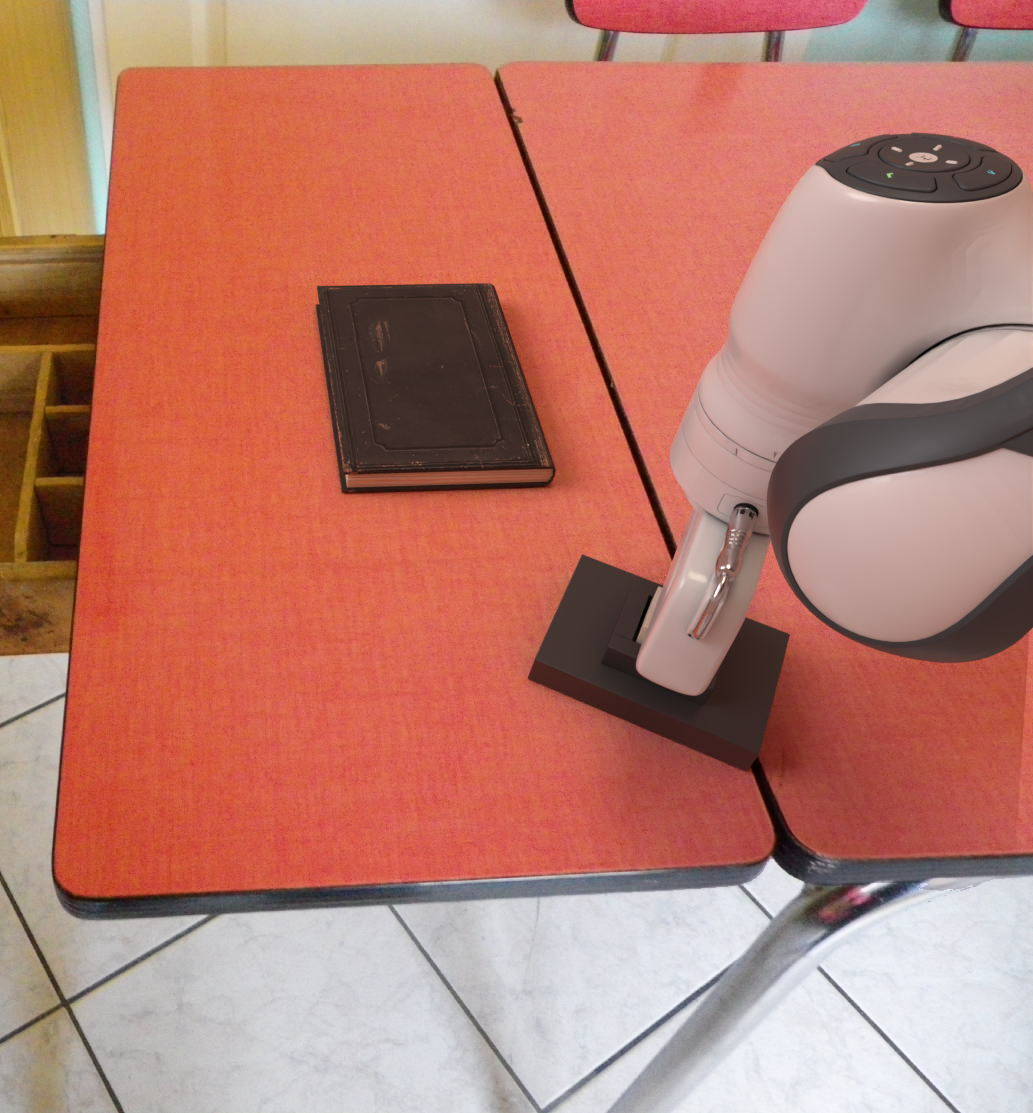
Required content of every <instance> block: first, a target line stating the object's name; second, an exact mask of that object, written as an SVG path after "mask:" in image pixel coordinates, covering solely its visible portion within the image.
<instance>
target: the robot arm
mask: <svg viewBox="0 0 1033 1113" xmlns="http://www.w3.org/2000/svg"><path fill="white" fill-rule="evenodd" d="M778 210H779V211H777V214H776V215H775V217H774V219H773V220H772V222H771V224H770V226H769V228H768V230H767V231H766V233H765V234H764V237H763V239H762V241H761V242H760V244H759V246H758V249H757V250H756V252H755V254H754V256H753V258H752V260H751V263H750V265H749V267H748V268H747V271H746V272H745V274H744V277H743V279H742V282H741V283H740V286H739V287H738V290H737V292H736V294H735V296H734V299H733V301H732V304H731V307H730V311H729V315H728V326H727V328H728V329H727V336H726V339H725V340H724V343H723V345H722V347H721V348H720V349H719V350H718V351H717V352H716V353H715V354H714V355H713V357H711V359H710V360H709V361H708V363H707V364H706V365H705V367H704V369H703V371H702V373H701V375H700V378H699V380H698V382H697V385H696V386H695V389H694V391H693V393H692V396H691V398H690V400H689V403H688V405H687V407H686V409H685V412H684V414H683V416H682V419H681V421H680V424H679V426H678V428H677V430H676V432H675V435H674V437H673V439H672V442H671V445H670V447H669V464H670V468H671V472H672V474H673V476H674V479H675V481H676V483H677V484H678V485H679V487H680V488H681V489H682V491H683V492H684V495H685V498H686V499H687V501H688V503H689V504H690V506H691V508H690V512H689V515H688V517H687V520H686V524H685V526H684V528H683V531H682V533H681V537H680V538H679V541H678V545H677V547H676V550H675V553H674V555H673V558H672V561H671V564H670V566H669V568H668V572H667V573H666V574H667V575H666V577H665V580H664V583H663V584H662V585H663V588H662V591H661V593H660V596H659V599H658V602H657V604H656V607H655V610H654V612H653V615H652V618H651V621H650V623H649V626H648V629H647V631H646V634H645V637H644V640H643V642H642V645H641V648H640V651H639V654H638V657H637V661H636V669H637V671H638V672H639V674H641V675H642V676H644V677H645V678H647V679H649V680H650V681H652V682H655V683H657V684H659V685H661V686H663V687H665V688H668V689H671V690H674V691H676V692H679V693H682V694H686V695H691V696H696V695H700V694H702V693H703V692H704V691H705V690H706V688H707V687H708V685H709V684H710V682H711V680H712V678H713V677H714V675H715V673H716V671H717V670H718V668H719V666H720V665H721V663H722V661H723V659H724V657H725V656H726V654H727V652H728V650H729V648H730V647H731V645H732V643H733V641H734V639H735V637H736V636H737V634H738V632H739V630H740V628H741V626H742V624H743V622H744V620H745V618H746V617H747V615H748V613H749V611H750V608H751V606H752V603H753V601H754V599H755V595H756V592H757V589H758V586H759V582H760V578H761V576H762V572H763V568H764V565H765V562H766V557H767V554H768V551H769V548H770V544H771V546H772V549H773V553H774V554H773V555H774V557H775V560H776V563H777V565H778V567H779V569H780V571H781V574H782V577H783V578H784V580H785V582H786V583H787V585H788V587H789V588H790V589H791V591H792V592H793V594H794V596H795V597H796V598H797V599H798V601H800V603H801V604H802V605H803V606H804V608H806V609H807V610H808V611H809V612H810V613H811V614H812V615H813V616H814V617H815V618H817V619H818V620H819V621H820V622H822V623H823V624H825V625H826V626H827V627H829V628H830V629H831V630H833V631H835V632H836V633H838V634H840V635H841V636H843V637H846V638H847V639H850V640H852V641H854V642H855V643H858V644H860V645H863V646H865V647H867V648H870V649H873V650H875V651H879V652H881V653H885V654H889V655H892V656H897V657H902V658H905V659H910V660H918V661H923V662H930V663H939V664H940V663H941V664H961V663H962V664H963V663H969V662H976V661H981V660H984V659H987V658H990V657H993V656H995V655H998V654H1000V653H1002V652H1004V651H1005V650H1007V649H1009V648H1011V647H1012V646H1014V645H1015V644H1016V643H1018V642H1019V641H1020V640H1022V639H1023V638H1024V637H1025V636H1026V635H1027V634H1028V633H1029V632H1030V631H1031V630H1033V189H1032V185H1031V183H1030V180H1029V177H1028V176H1027V174H1026V172H1025V171H1024V169H1023V168H1022V167H1021V166H1020V165H1019V164H1018V163H1017V162H1015V160H1013V159H1012V158H1010V157H1009V156H1007V155H1006V154H1003V153H1002V152H1000V151H998V150H997V149H995V148H993V147H992V146H989V145H986V144H984V143H982V142H978V141H975V140H972V139H968V138H964V137H959V136H953V135H947V134H939V133H932V132H931V133H929V132H911V133H893V134H891V133H884V134H879V135H874V136H871V137H867V138H864V139H861V140H858V141H855V142H852V143H850V144H847V145H845V146H843V147H840V148H838V149H836V150H835V151H833V152H832V153H829V154H827V155H825V156H824V157H822V158H820V159H818V160H816V162H815V163H813V164H812V165H811V166H810V167H809V168H808V169H807V170H806V171H805V173H804V174H802V176H801V177H800V178H799V180H798V181H797V182H796V183H795V185H794V186H793V188H792V190H791V191H790V193H789V194H788V196H787V197H786V198H785V200H784V202H783V203H782V205H781V207H780V209H778Z"/></svg>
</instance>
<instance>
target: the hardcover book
mask: <svg viewBox="0 0 1033 1113" xmlns="http://www.w3.org/2000/svg"><path fill="white" fill-rule="evenodd" d="M316 290H317V300H318V303H317V304H315V309H316V317H317V324H318V332H319V338H320V346H321V353H322V360H323V361H322V362H323V366H324V373H325V381H326V388H327V396H328V403H329V410H330V417H331V424H332V431H333V438H334V447H335V453H336V459H337V467H338V475H339V482H340V488H341V493H343V494H344V493H345V494H346V493H378V492H411V491H414V492H415V491H442V490H443V491H444V490H478V489H481V490H482V489H509V488H510V489H511V488H543V487H546V486H548V485H550V484H551V483H552V482H553V481H554V478H555V476H556V471H557V469H556V466H555V462H554V459H553V456H552V454H551V450H550V448H549V444H548V441H547V439H546V436H545V432H544V430H543V427H542V424H541V420H540V418H539V414H538V412H537V409H536V405H535V403H534V400H533V397H532V394H531V391H530V387H529V384H528V382H527V378H526V376H525V372H524V370H523V367H522V363H521V361H520V358H519V355H518V352H517V349H516V346H515V342H514V340H513V336H512V334H511V331H510V328H509V325H508V322H507V319H506V316H505V313H504V310H503V308H502V305H501V304H502V303H501V301H500V299H499V295H498V292H497V289H496V287H495V285H494V284H493V283H490V282H478V283H477V282H476V283H475V282H472V283H471V282H470V283H419V284H418V283H416V284H415V283H414V284H412V283H411V284H355V285H354V284H353V285H352V284H351V285H345V284H344V285H317V286H316Z"/></svg>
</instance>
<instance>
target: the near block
mask: <svg viewBox="0 0 1033 1113" xmlns="http://www.w3.org/2000/svg"><path fill="white" fill-rule="evenodd" d="M663 585H664V584H661V583H658V582H656V581H652V580H650V579H648V578H646V577H643V576H640V575H638V574H635V573H632V572H630V571H627V570H624V569H622V568H619V567H616V566H614V565H612V564H609V563H606V562H603V561H601V560H598V559H595V558H593V557H590V556H588V555H585V554H581V556H580V558H579V560H578V562H577V565H576V566H575V569H574V571H573V573H572V575H571V577H570V579H569V582H568V584H567V587H566V589H565V591H564V593H563V596H562V598H561V599H560V602H559V604H558V606H557V609H556V611H555V612H554V616H553V618H552V620H551V622H550V624H549V626H548V629H547V631H546V633H545V636H544V638H543V640H542V641H541V644H540V647H539V649H538V651H537V653H536V655H535V658H534V660H533V662H532V665H531V667H530V668H531V669H530V670H529V674H528V676H527V679H528V680H530V681H532V682H535V683H537V684H539V685H543V686H544V687H547V688H549V689H551V690H553V691H556V692H558V693H561V694H563V695H565V696H568V697H570V698H573V699H575V700H577V701H579V702H582V703H584V704H587V705H588V706H591V707H594V708H596V709H598V710H600V711H603V712H605V713H607V714H610V715H612V716H615V717H617V718H619V719H621V720H624V721H626V722H628V723H631V724H633V725H636V726H638V727H640V728H642V729H646V730H648V731H650V732H652V733H654V734H656V735H659V736H662V737H664V738H666V739H668V740H670V741H673V742H675V743H677V744H679V745H682V746H685V747H687V748H690V749H692V750H694V751H696V752H699V753H701V754H703V755H706V756H708V757H711V758H713V759H715V760H717V761H719V762H722V763H725V764H727V765H729V766H731V767H733V768H736V769H738V770H740V771H743V772H748V770H749V769H750V768H751V766H752V765H753V764H754V763H755V761H756V759H757V758H758V757H759V756H760V754H761V751H762V747H763V742H764V739H765V735H766V731H767V727H768V723H769V719H770V717H771V716H770V715H771V711H772V707H773V704H774V699H775V695H776V692H777V688H778V684H779V681H780V677H781V673H782V668H783V664H784V659H785V657H786V653H787V649H788V644H789V641H790V637H791V634H790V633H788V632H785V631H783V630H781V629H778V628H776V627H773V626H770V625H767V624H764V623H762V622H759V621H757V620H754V619H752V618H749V617H747V616H746V618H745V620H744V622H743V624H742V626H741V628H740V630H739V632H738V634H737V636H736V637H735V639H734V641H733V643H732V645H731V647H730V648H729V650H728V652H727V654H726V656H725V657H724V659H723V661H722V663H721V665H720V666H719V668H718V670H717V671H716V673H715V675H714V677H713V678H712V680H711V682H710V684H709V685H708V687H707V688H706V690H705V691H704V692H703V693H702V694H700V695H696V696H691V695H686V694H682V693H679V692H676V691H674V690H671V689H668V688H665V687H663V686H661V685H659V684H657V683H655V682H652V681H650V680H649V679H647V678H645V677H644V676H642V675H641V674H639V672H638V671H637V669H636V661H637V657H638V654H639V651H640V648H641V644H639V643H636V640H637V637H638V635H639V632H640V629H641V627H642V624H643V621H644V619H645V616H646V614H647V611H648V608H649V606H650V603H651V601H652V599H653V597H654V595H655V593H656V591H657V589H658V587H662V588H663Z"/></svg>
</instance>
